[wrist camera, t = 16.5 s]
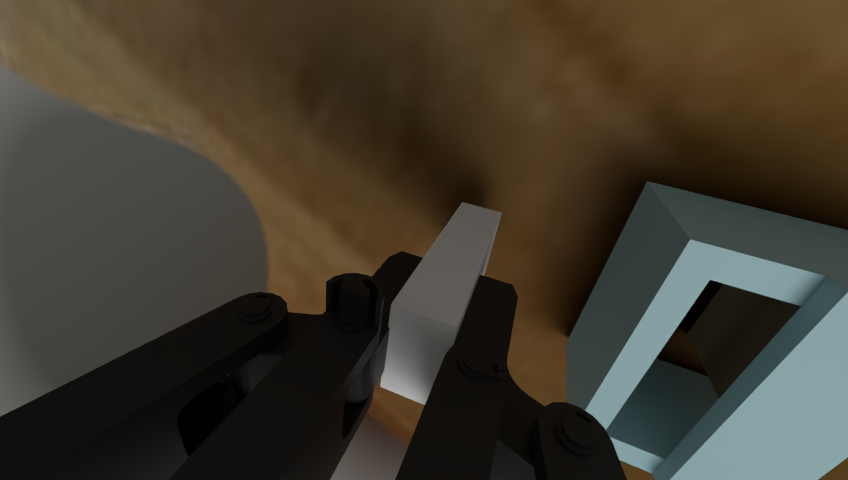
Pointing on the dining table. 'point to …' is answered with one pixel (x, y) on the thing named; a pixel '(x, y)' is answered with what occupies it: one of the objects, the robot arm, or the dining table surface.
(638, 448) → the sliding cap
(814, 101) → the dining table surface
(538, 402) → the robot arm
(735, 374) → the batten
